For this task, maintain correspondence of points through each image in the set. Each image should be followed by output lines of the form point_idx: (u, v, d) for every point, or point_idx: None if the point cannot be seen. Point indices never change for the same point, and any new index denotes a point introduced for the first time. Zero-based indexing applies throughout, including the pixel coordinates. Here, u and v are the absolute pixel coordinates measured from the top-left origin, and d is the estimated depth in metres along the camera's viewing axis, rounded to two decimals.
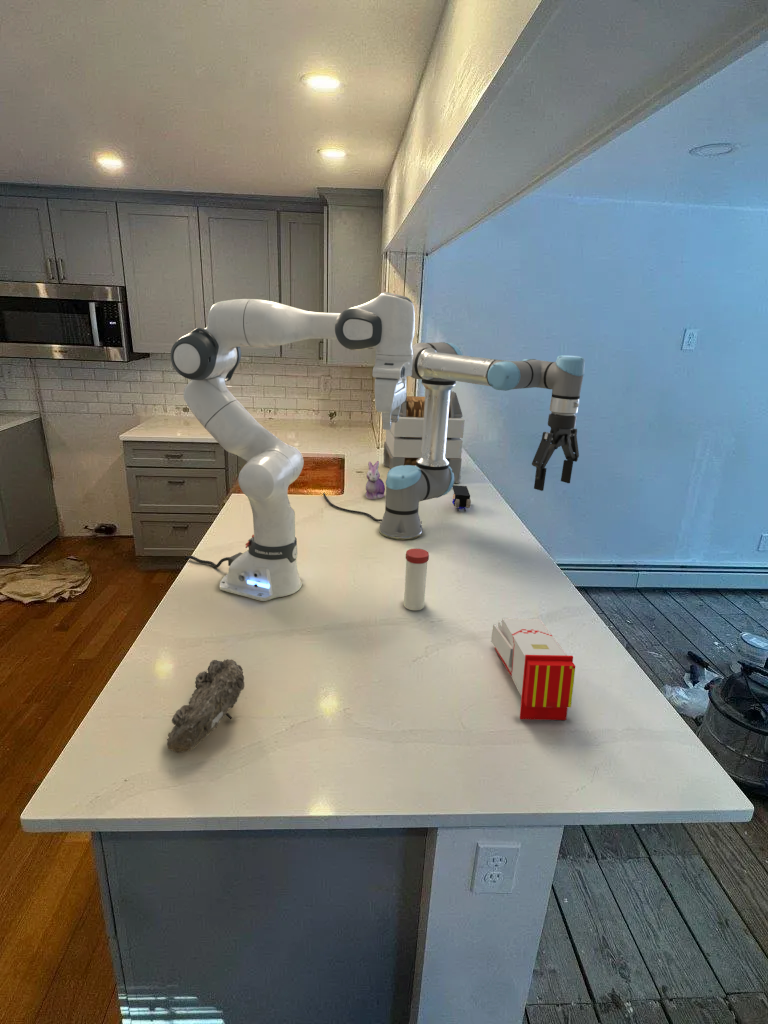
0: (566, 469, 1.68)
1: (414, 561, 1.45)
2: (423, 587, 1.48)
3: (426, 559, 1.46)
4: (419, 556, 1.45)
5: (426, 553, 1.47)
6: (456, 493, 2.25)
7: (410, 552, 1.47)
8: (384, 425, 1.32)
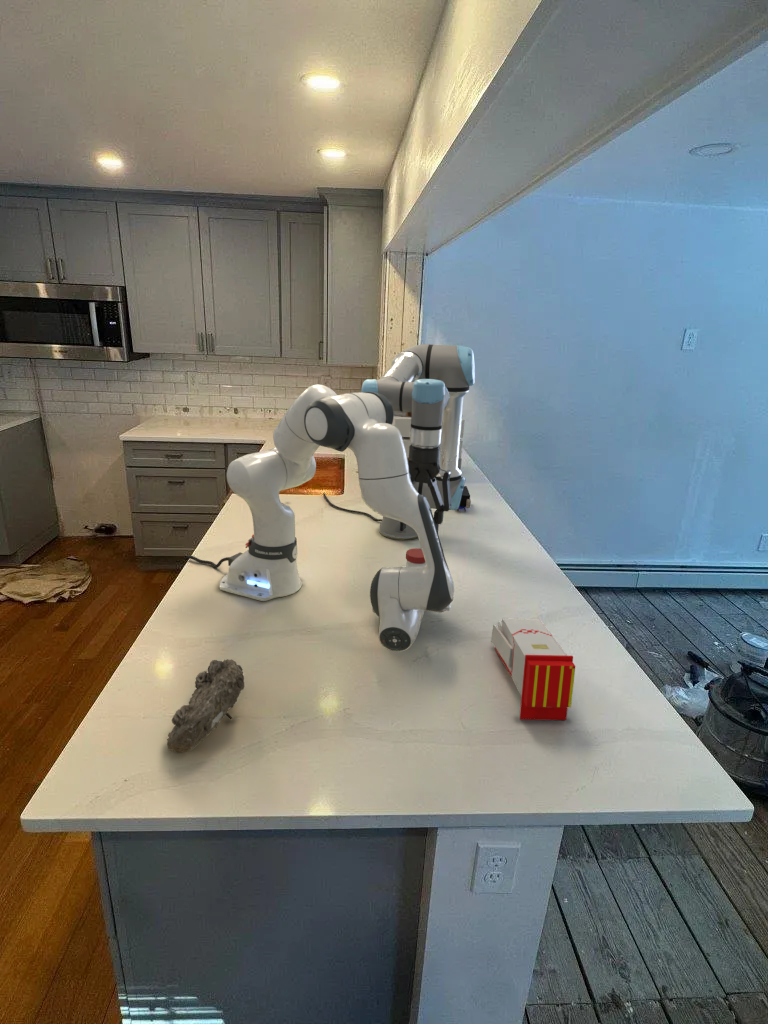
0: None
1: (414, 561, 1.45)
2: None
3: None
4: (419, 556, 1.45)
5: None
6: None
7: (410, 552, 1.47)
8: None
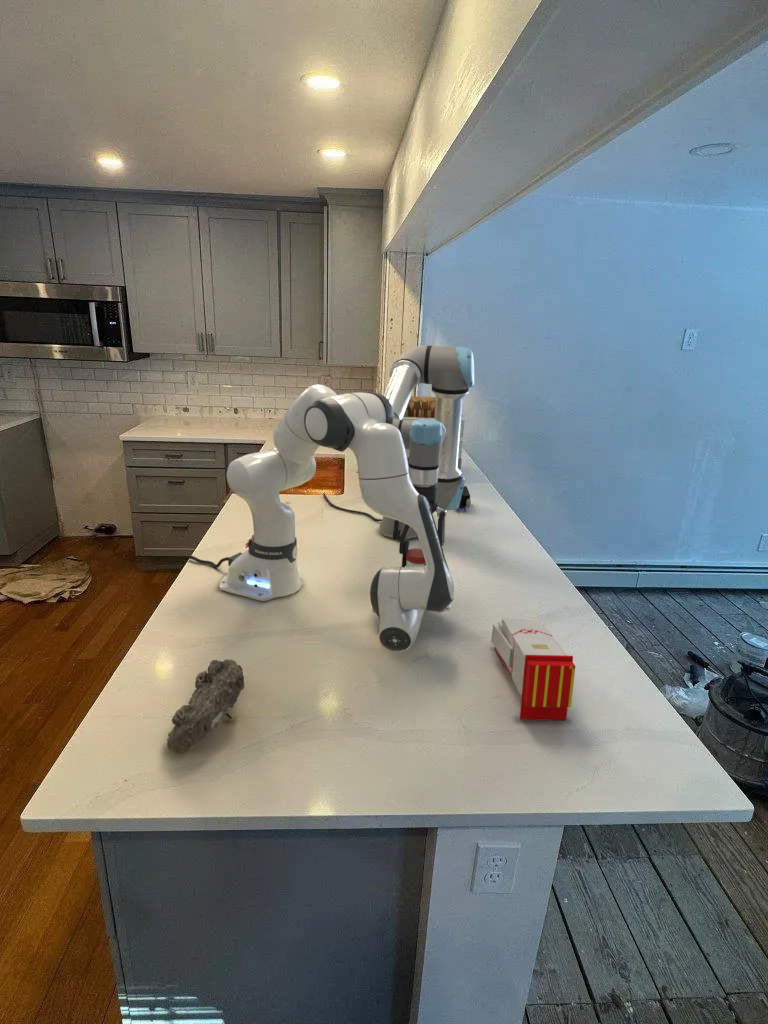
0: (406, 551, 1.48)
1: (414, 561, 1.45)
2: None
3: None
4: (419, 556, 1.45)
5: None
6: None
7: (410, 552, 1.47)
8: None
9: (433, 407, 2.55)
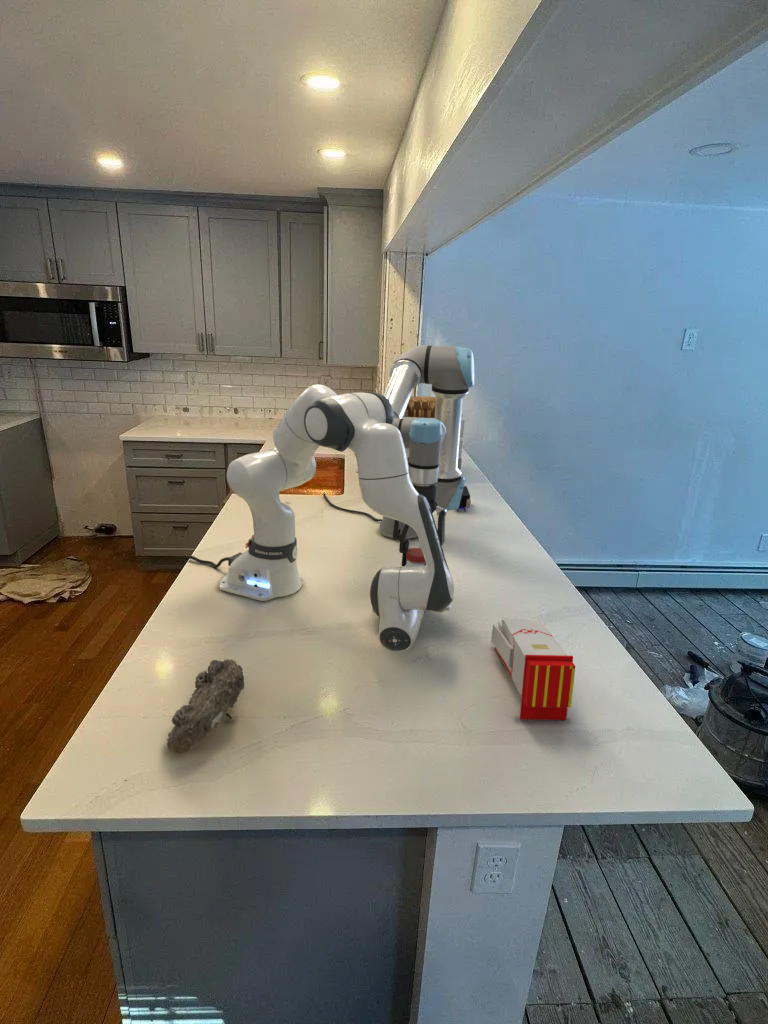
0: None
1: None
2: None
3: None
4: (421, 549, 1.49)
5: (410, 549, 1.48)
6: None
7: (422, 554, 1.46)
8: None
9: (433, 407, 2.55)
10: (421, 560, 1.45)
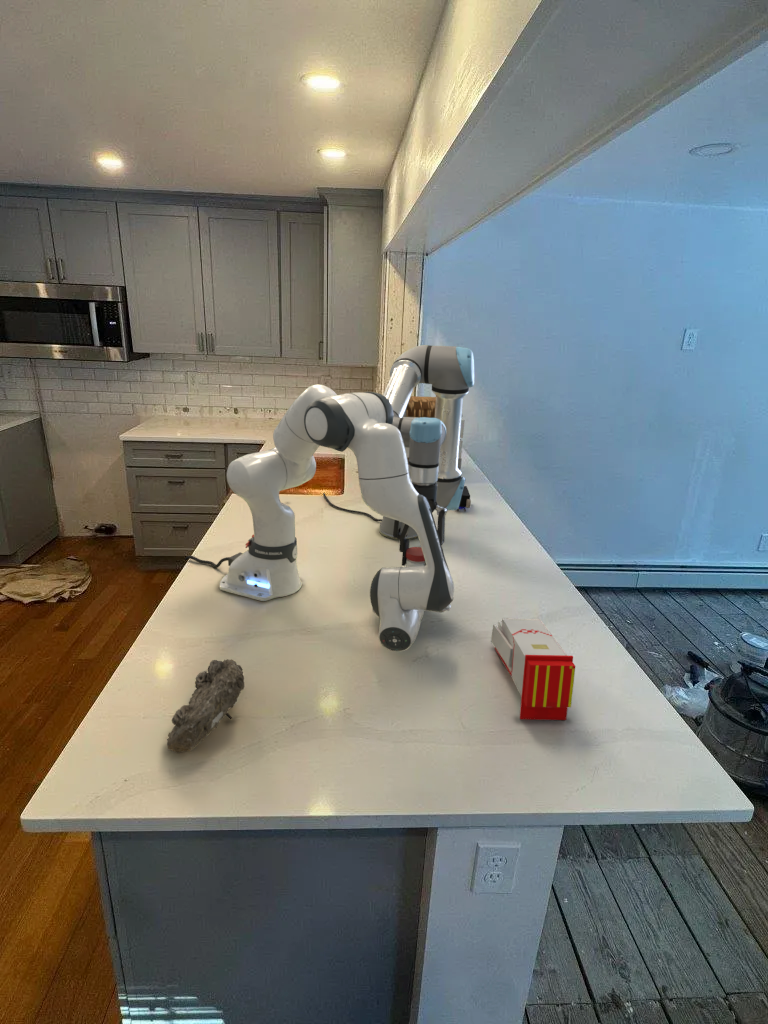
0: None
1: None
2: None
3: (411, 558, 1.45)
4: (409, 551, 1.46)
5: (418, 554, 1.45)
6: None
7: (417, 548, 1.49)
8: None
9: (433, 407, 2.55)
10: None
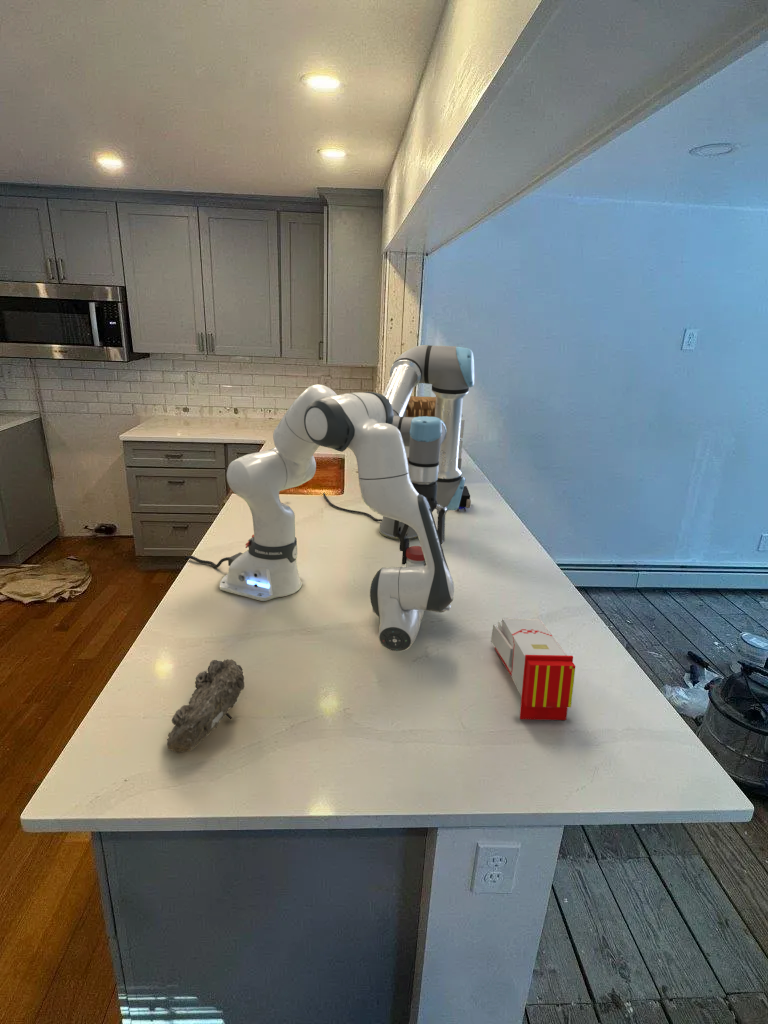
0: None
1: (424, 558, 1.45)
2: None
3: None
4: None
5: None
6: None
7: (413, 552, 1.45)
8: None
9: (433, 407, 2.55)
10: (407, 555, 1.46)
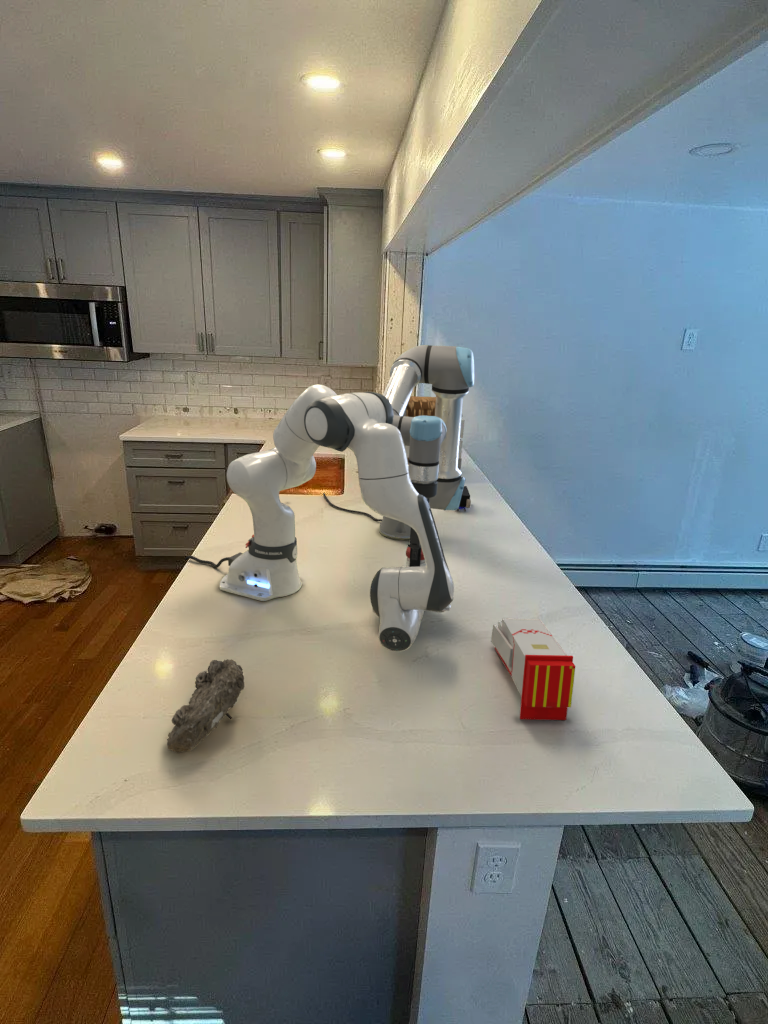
0: None
1: None
2: None
3: None
4: None
5: (409, 547, 1.48)
6: None
7: None
8: None
9: (433, 407, 2.55)
10: (423, 557, 1.45)
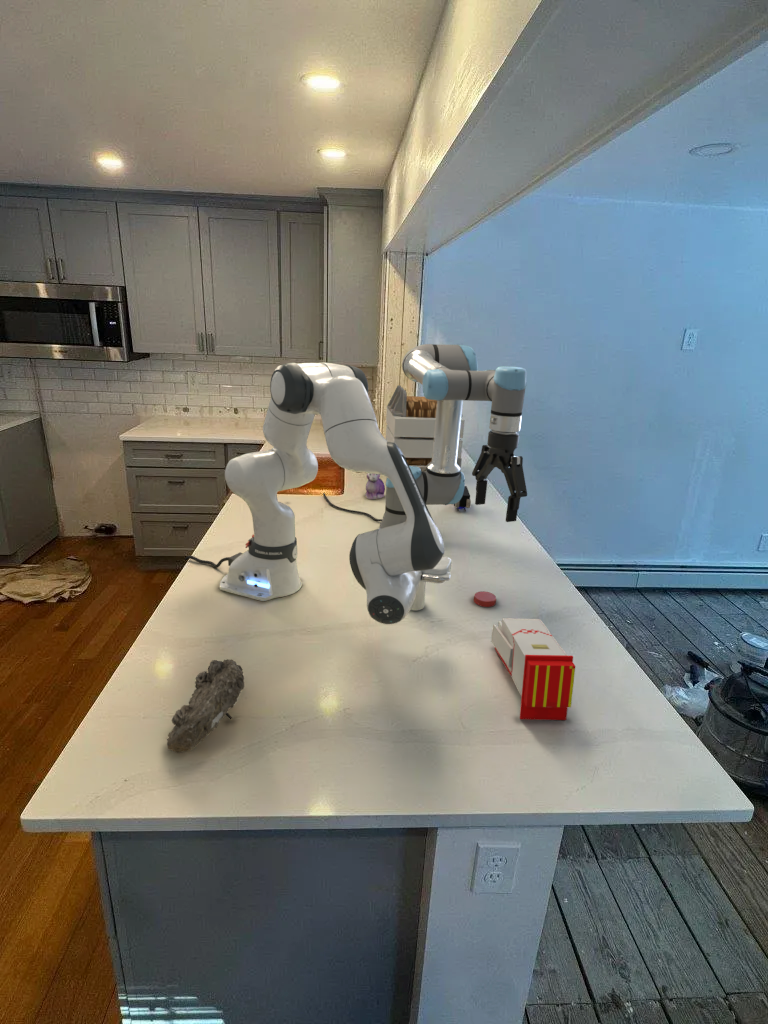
0: None
1: None
2: (423, 587, 1.48)
3: None
4: (481, 592, 1.57)
5: (477, 596, 1.55)
6: None
7: (491, 596, 1.55)
8: None
9: (433, 407, 2.55)
10: (495, 602, 1.55)
